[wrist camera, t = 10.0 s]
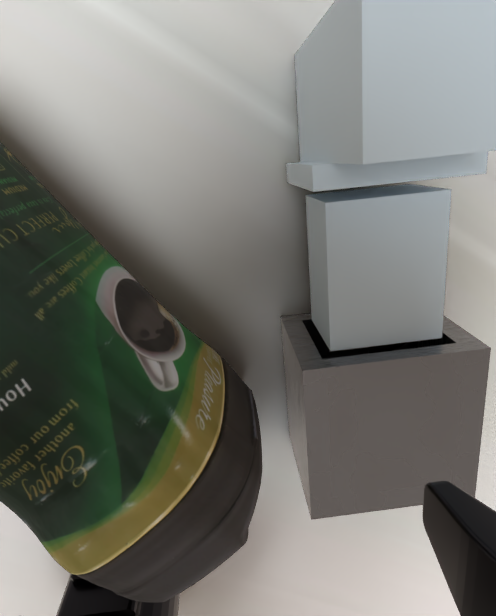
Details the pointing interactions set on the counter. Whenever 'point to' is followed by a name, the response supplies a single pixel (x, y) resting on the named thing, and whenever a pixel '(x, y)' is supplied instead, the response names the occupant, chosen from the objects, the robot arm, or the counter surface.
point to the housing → (382, 417)
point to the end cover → (389, 157)
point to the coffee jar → (113, 412)
